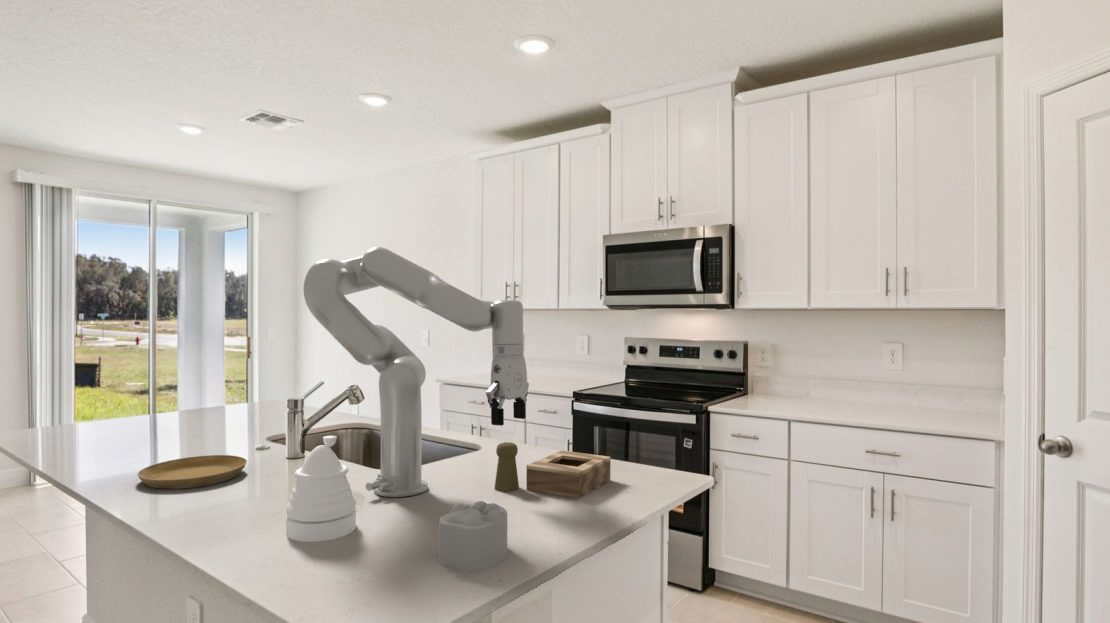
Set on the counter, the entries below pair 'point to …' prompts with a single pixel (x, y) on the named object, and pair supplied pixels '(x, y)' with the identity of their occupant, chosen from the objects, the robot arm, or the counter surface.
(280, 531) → the counter surface
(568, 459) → the drop box
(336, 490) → the honey pot
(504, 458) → the cork
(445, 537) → the lumpy-topped squat cylinder
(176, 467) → the plant saucer
